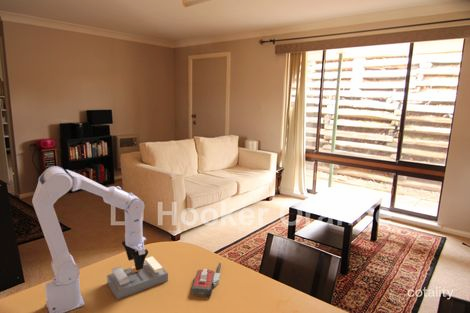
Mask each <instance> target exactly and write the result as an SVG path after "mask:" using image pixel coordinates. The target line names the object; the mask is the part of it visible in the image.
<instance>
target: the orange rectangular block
mask: <svg viewBox="0 0 470 313" xmlns="http://www.w3.org/2000/svg"><path fill="white" fill-rule="evenodd" d="M130 268H131V272H132V273H135V272H138V271H140V270H136V268H135V265H133V266H130Z"/></svg>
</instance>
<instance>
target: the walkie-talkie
mask: <svg viewBox="0 0 470 313" xmlns="http://www.w3.org/2000/svg"><path fill="white" fill-rule="evenodd" d="M221 267H222V263H221V262H220V263H219V262H218V265H217V270H216V272H215V271H214V270H212V269H211V270H210V269H209V268H202V269H198V270H197V271H196V274H195V277H194V280H193V284H192V287H191V295H192V296H199V297H208V298H209V297H211V296H212V294H213V289H214V287H215V288H216V287H217V286H218V285H219V284H220V279H221V273H220V272H221Z"/></svg>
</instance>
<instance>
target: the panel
mask: <svg viewBox="0 0 470 313" xmlns="http://www.w3.org/2000/svg"><path fill="white" fill-rule="evenodd" d="M123 271H124V272H125V274H126V275H127V276H128V278H129V282H128V283H125V284H122V285H120V284H119V283H118V281H117V279H116V278H115V276H114V275H113V273H112V272H111V273H110V274H107V275H106V283H107V285H108V287H109V288H110V290H111V291H112V293H113V295H114V297H115V299H116V300H117V301H118V300H120V299H123V298H126V297H128V296H132V295H134V294H137V293H139V292H141V291H144V290H147V289H149V288H152V287H154V286H155V287H156V286H157V285H161V284H163V283H166V282H168V281H169V273H168V271H166V270H165V269H164V268H163V270H162V271H159V272H156V273H154V272H153V270H152V269H151V268H150V267H149V266H148V265H147V263H146V262H144V264H143V268H142V269H140V271H138V272H135V273H132V272H131V267H128V268H125V269H123Z"/></svg>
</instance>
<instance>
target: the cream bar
mask: <svg viewBox="0 0 470 313" xmlns="http://www.w3.org/2000/svg"><path fill="white" fill-rule="evenodd" d="M144 263H147V265H148V266H149V267H150V268H151V269H152V270H153V272H154V273H156V272H159V271H162V270H163V269H164V267H163V266H162V264H160V262H158V261H157V259H156V258H155V257H154V256H149V257H146V258H145V260H144Z"/></svg>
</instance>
